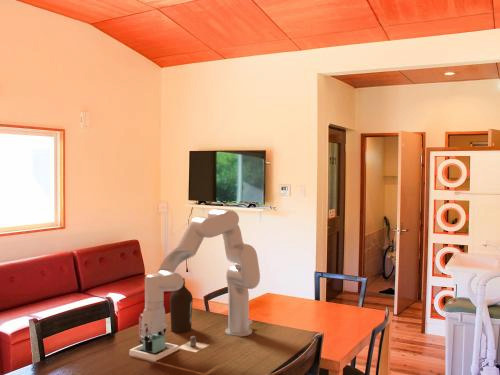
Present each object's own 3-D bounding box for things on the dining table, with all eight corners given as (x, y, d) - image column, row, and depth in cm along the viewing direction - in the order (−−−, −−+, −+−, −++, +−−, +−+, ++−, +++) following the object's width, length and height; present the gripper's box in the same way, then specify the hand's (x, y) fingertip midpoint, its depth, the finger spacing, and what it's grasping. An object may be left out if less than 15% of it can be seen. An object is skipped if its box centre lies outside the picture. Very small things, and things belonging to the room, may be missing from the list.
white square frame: (152, 345, 206) (152, 339, 206) (178, 351, 199) (178, 345, 199) (129, 355, 194) (129, 349, 194) (156, 362, 187) (156, 356, 187)
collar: (165, 348, 198) (165, 336, 198) (154, 353, 192) (155, 340, 192) (150, 344, 202) (150, 332, 202) (139, 349, 196) (139, 337, 196)
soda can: (151, 344, 207) (151, 316, 207) (136, 343, 209) (136, 315, 209) (157, 338, 214) (157, 312, 214) (142, 337, 216) (142, 311, 215)
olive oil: (170, 335, 218) (170, 281, 218) (169, 328, 229) (169, 276, 228) (193, 334, 221) (193, 280, 220) (191, 327, 231) (191, 275, 231)
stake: (190, 342, 209) (190, 331, 209) (209, 346, 204) (209, 335, 204) (176, 349, 201) (176, 338, 201) (195, 354, 196) (195, 342, 196)
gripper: (161, 298, 205) (161, 340, 206) (132, 308, 190) (132, 353, 191) (175, 301, 202) (175, 343, 202) (146, 311, 187) (147, 356, 187)
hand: (154, 347), depth 196 cm, fingers closed on collar, 6 cm apart
